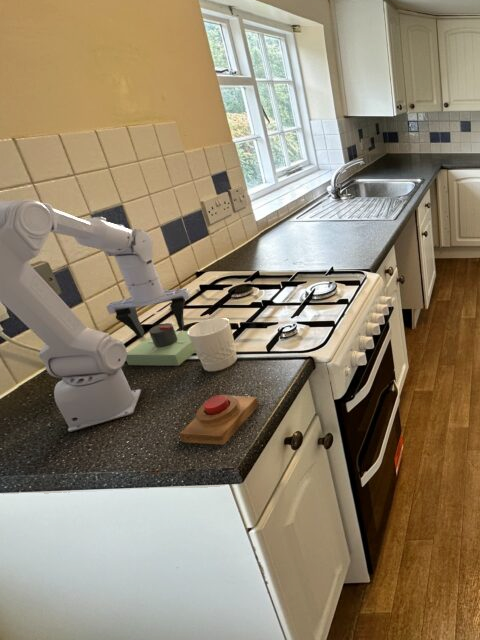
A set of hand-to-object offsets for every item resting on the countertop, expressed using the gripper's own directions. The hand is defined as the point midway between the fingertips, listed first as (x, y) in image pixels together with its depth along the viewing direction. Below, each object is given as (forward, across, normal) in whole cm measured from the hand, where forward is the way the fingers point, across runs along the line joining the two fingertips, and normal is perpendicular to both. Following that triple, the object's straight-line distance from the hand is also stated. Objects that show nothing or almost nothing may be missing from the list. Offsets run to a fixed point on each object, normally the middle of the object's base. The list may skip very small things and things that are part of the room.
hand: (162, 330), depth 98 cm
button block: (+6, -13, +34) cm, 36 cm away
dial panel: (+6, 0, 0) cm, 6 cm away
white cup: (+6, -11, +11) cm, 17 cm away
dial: (+3, 0, 0) cm, 3 cm away
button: (+3, -13, +34) cm, 36 cm away
